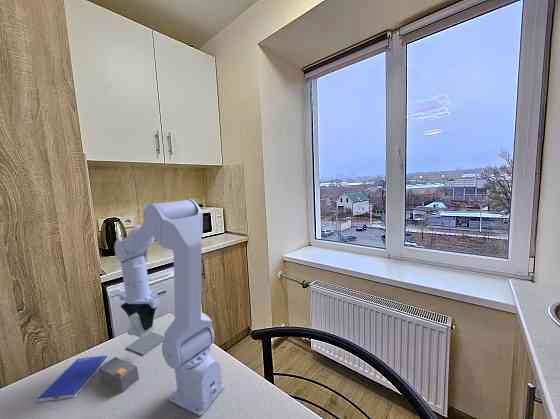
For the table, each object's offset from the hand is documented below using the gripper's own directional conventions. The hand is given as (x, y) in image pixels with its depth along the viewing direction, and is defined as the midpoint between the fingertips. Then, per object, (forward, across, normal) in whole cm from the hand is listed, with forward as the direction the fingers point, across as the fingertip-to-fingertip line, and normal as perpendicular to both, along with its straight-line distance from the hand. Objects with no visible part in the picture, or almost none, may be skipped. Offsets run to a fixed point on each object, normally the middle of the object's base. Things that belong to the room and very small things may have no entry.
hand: (142, 326), depth 68 cm
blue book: (+9, +10, +13) cm, 19 cm away
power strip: (+8, -2, +9) cm, 12 cm away
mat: (+9, +4, -3) cm, 10 cm away
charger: (+2, 0, 0) cm, 2 cm away
